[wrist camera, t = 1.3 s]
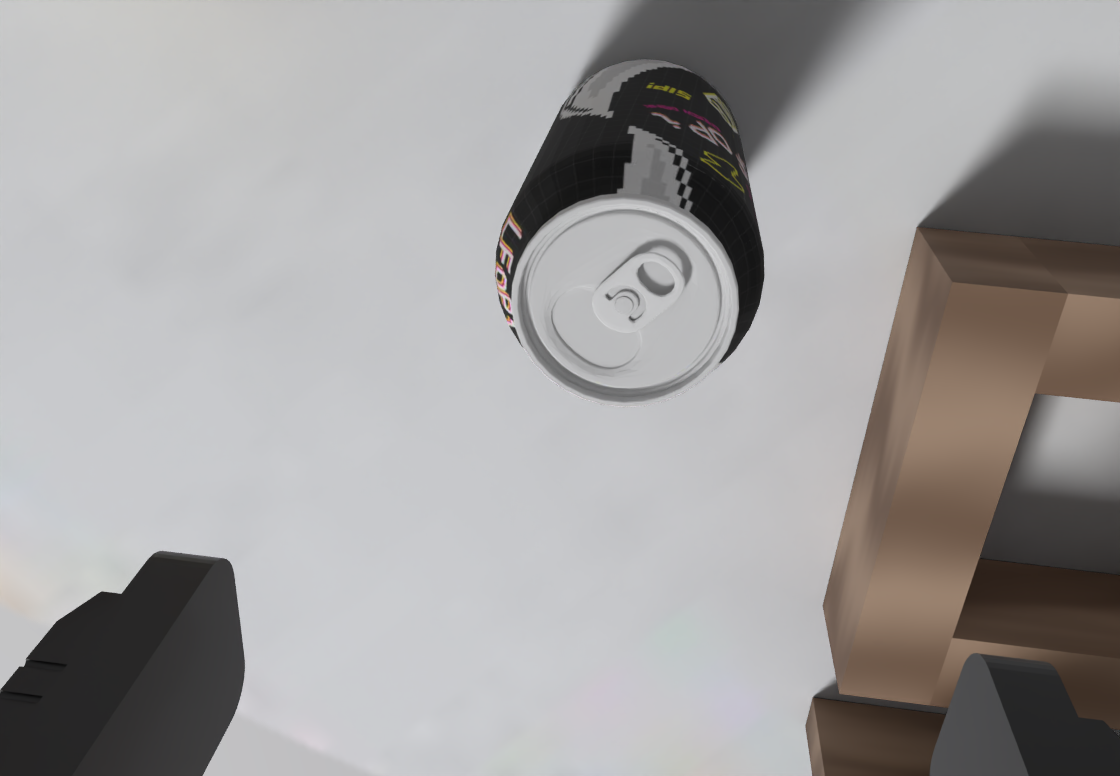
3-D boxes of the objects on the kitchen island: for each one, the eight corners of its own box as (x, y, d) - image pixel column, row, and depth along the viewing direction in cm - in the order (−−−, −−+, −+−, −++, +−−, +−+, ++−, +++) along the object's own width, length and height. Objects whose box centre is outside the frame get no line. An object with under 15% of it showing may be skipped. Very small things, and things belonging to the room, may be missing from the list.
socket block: (916, 226, 30) (952, 282, 26) (1433, 276, 29) (1551, 341, 25) (822, 605, 37) (839, 693, 33) (1234, 655, 36) (1301, 753, 32)
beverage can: (780, 152, 29) (833, 313, 19) (643, 276, 32) (623, 482, 21) (646, 10, 28) (623, 99, 17) (513, 152, 30) (422, 306, 20)
